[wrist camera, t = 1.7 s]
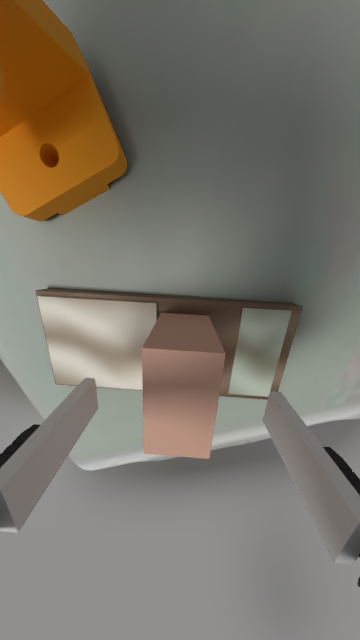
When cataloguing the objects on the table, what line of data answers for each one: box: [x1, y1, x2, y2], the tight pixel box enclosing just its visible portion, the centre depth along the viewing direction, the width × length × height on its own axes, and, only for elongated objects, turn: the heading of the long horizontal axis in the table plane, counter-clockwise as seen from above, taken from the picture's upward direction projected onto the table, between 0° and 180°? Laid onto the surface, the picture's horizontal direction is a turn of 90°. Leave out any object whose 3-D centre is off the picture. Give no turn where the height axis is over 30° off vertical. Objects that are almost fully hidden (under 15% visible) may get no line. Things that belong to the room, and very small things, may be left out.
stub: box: [142, 313, 226, 459], centre depth 15 cm, size 9×5×8 cm, turn 177°
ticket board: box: [36, 289, 302, 399], centre depth 20 cm, size 12×28×2 cm, turn 87°
